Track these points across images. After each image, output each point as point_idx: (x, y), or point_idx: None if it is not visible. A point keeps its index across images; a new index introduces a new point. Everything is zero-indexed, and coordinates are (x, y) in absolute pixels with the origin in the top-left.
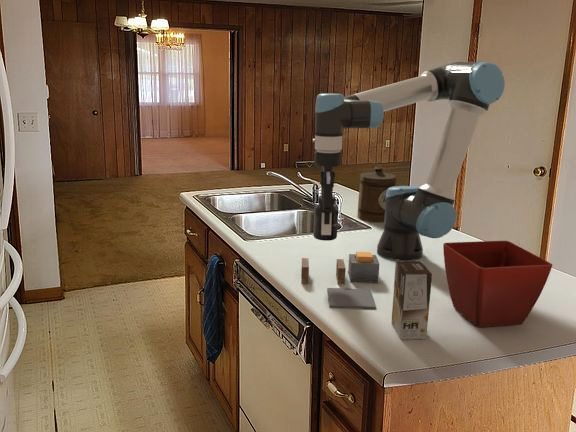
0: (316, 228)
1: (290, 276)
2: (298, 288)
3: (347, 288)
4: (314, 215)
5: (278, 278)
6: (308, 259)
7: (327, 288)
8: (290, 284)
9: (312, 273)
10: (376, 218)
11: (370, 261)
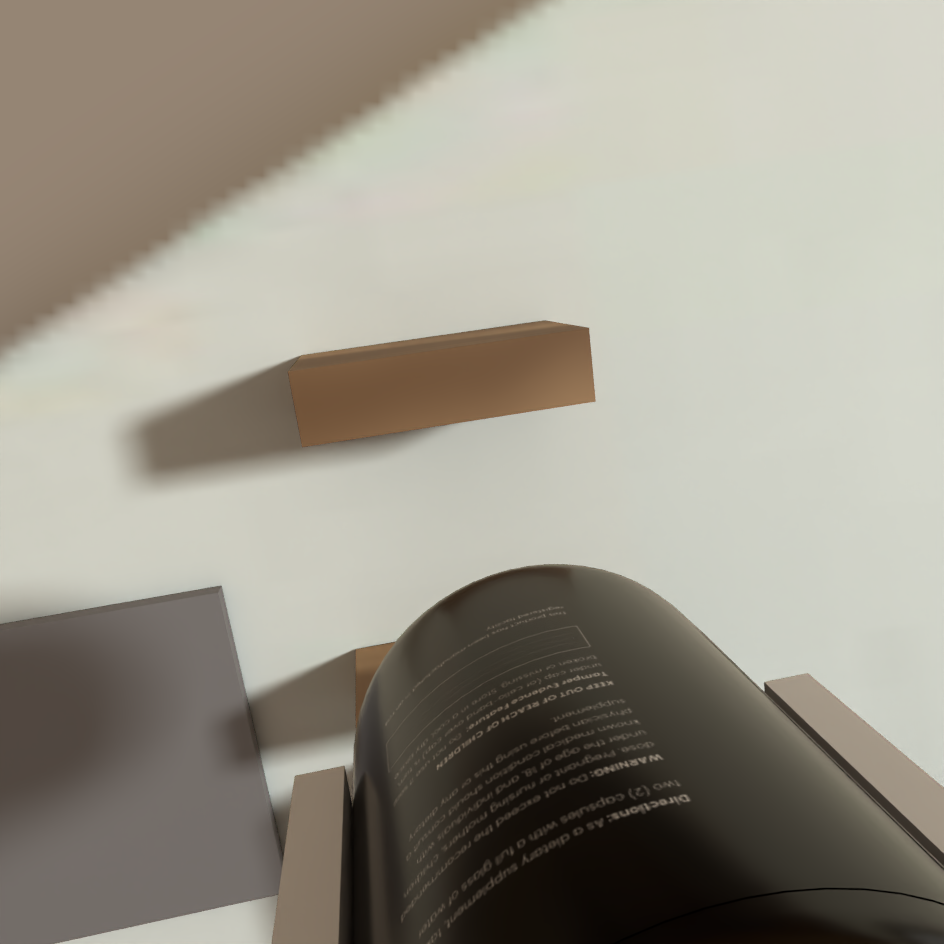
0: (420, 715)
1: (458, 228)
2: (180, 345)
3: (249, 741)
4: (593, 823)
5: (381, 117)
6: (553, 406)
7: (203, 595)
8: (257, 258)
9: (572, 416)
10: None
11: None
